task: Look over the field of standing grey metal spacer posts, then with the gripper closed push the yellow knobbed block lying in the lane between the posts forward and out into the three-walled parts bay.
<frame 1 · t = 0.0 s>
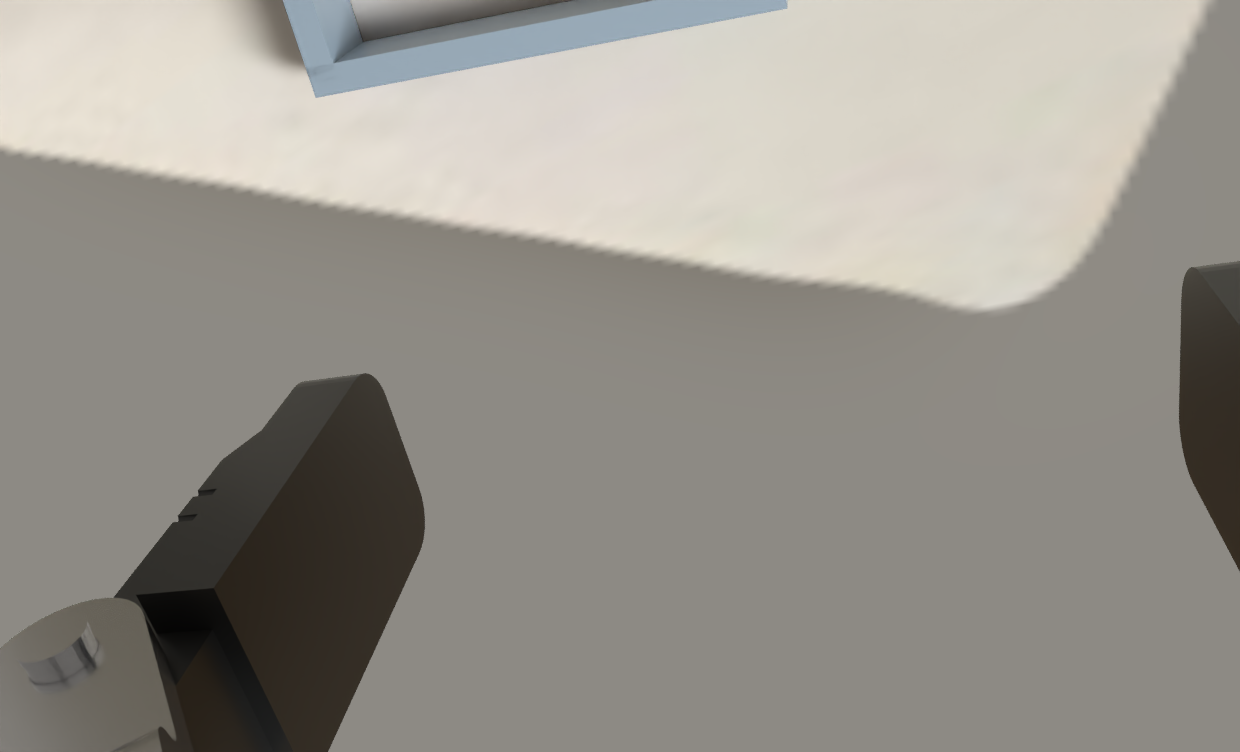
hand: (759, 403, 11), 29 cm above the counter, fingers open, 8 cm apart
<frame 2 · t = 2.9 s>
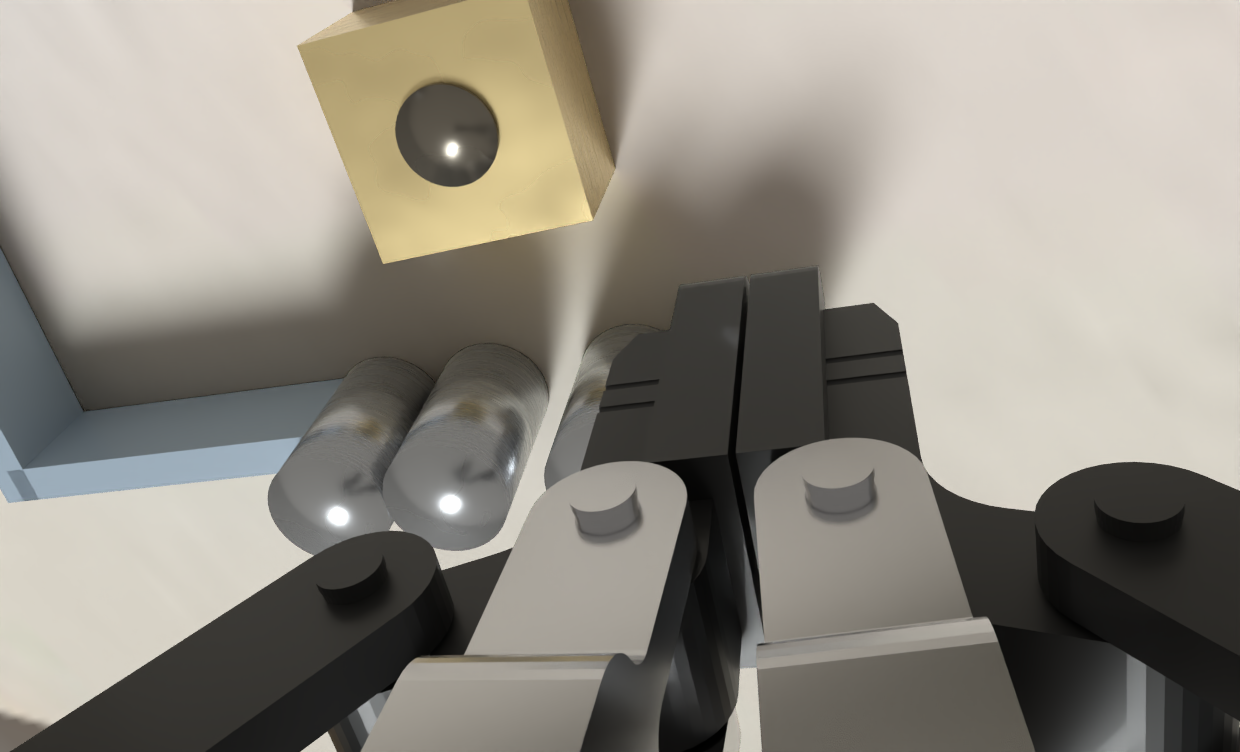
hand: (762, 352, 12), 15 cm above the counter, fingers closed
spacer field: (485, 92, 27), on the counter
parts bay: (100, 163, 29), on the counter
yellow knobbed block: (488, 89, 27), on the counter
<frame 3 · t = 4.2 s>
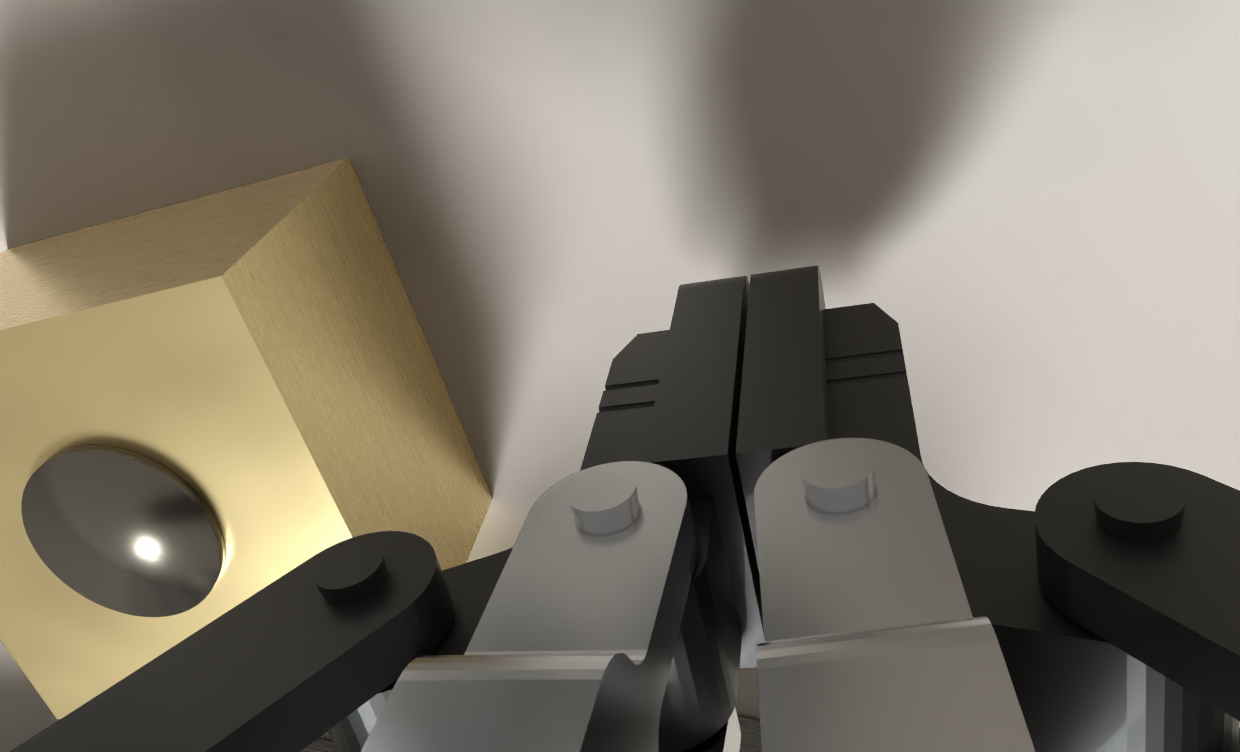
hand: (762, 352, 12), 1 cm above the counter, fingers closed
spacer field: (255, 378, 15), on the counter
yellow knobbed block: (262, 371, 15), on the counter
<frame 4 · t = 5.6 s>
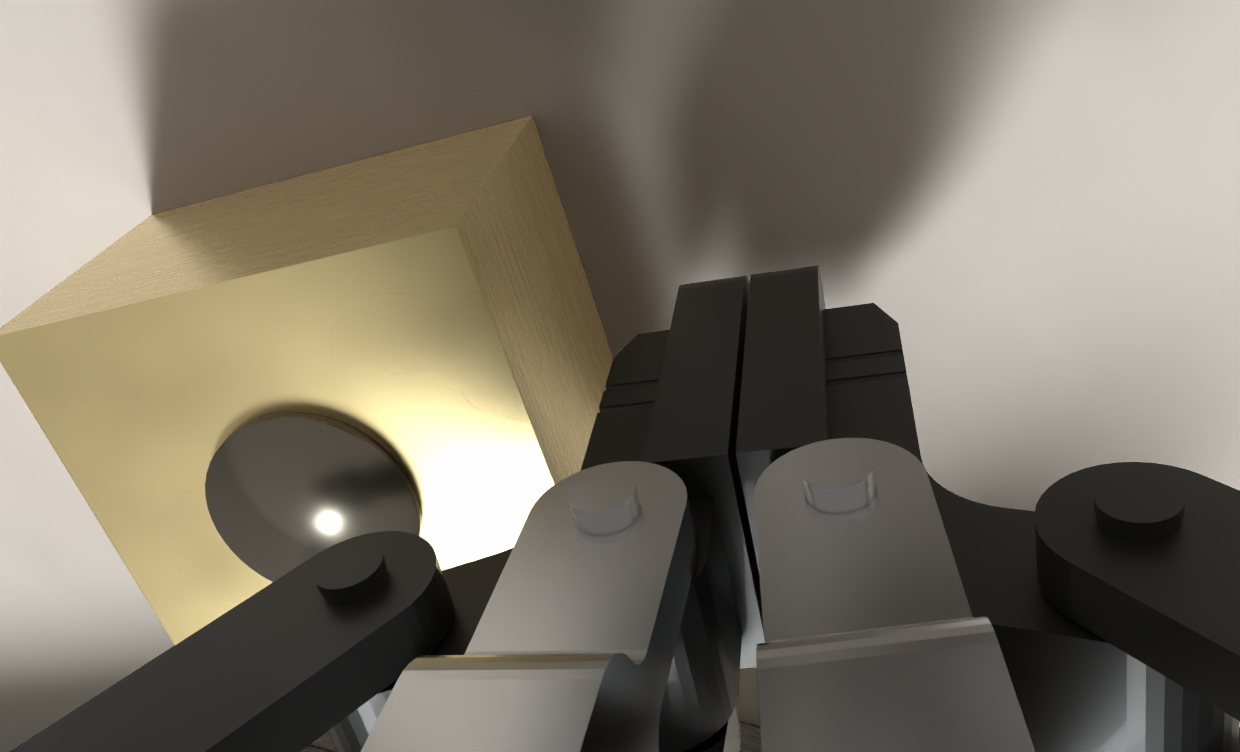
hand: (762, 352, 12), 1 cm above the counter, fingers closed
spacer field: (455, 355, 14), on the counter
yellow knobbed block: (416, 343, 14), on the counter, touching gripper
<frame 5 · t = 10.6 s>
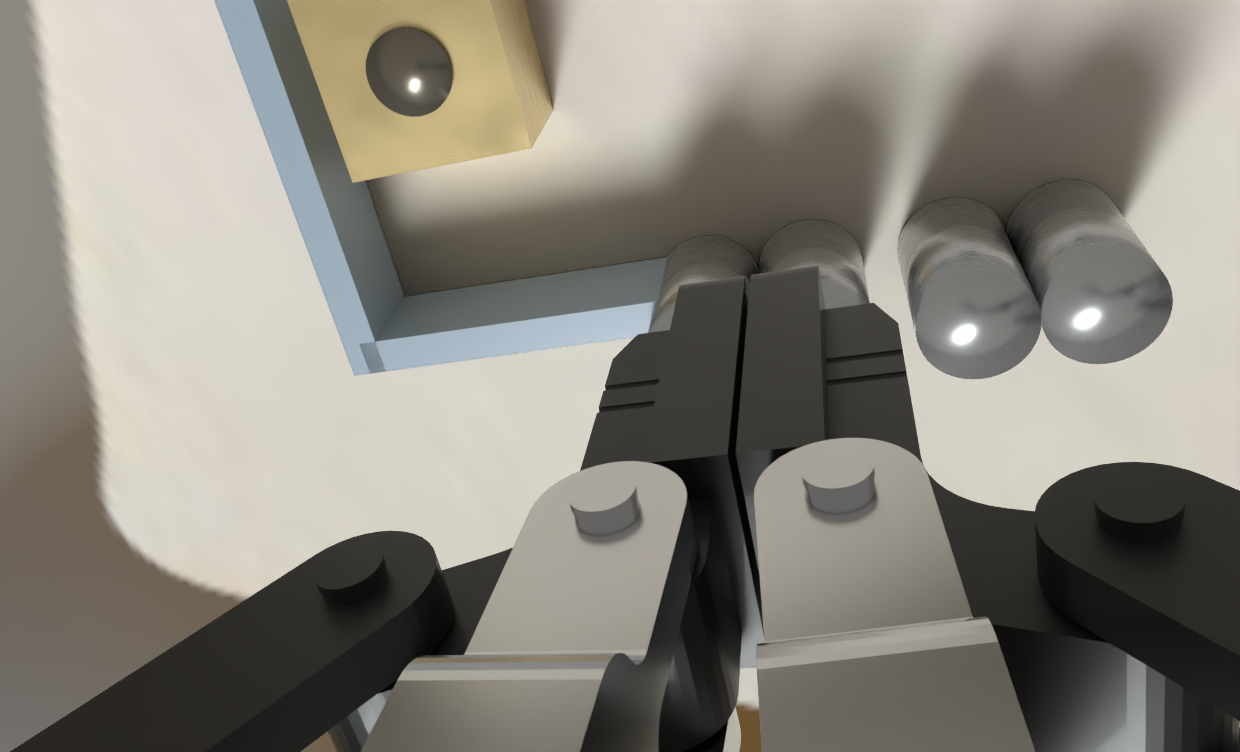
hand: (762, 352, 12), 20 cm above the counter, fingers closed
parts bay: (463, 50, 31), on the counter
yellow knobbed block: (445, 38, 31), on the counter
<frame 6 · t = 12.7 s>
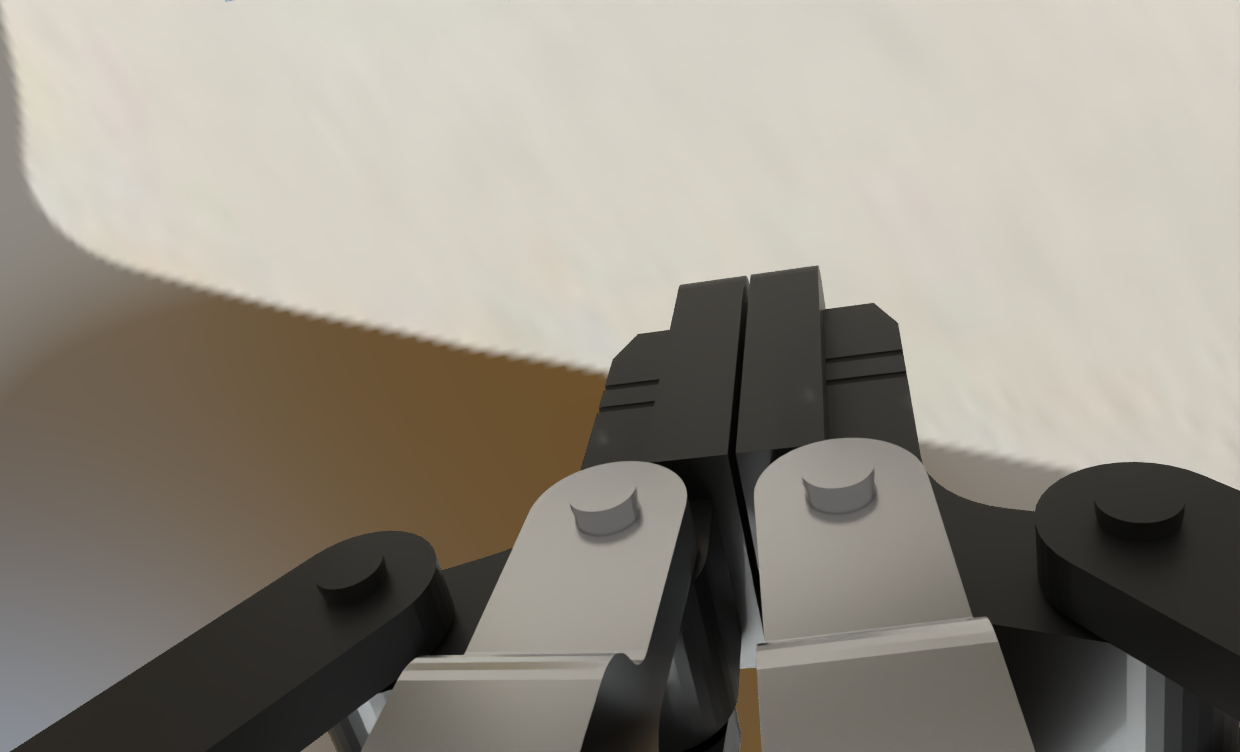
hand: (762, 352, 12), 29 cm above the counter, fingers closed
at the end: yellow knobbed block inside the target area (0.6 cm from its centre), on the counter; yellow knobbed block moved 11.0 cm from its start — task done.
